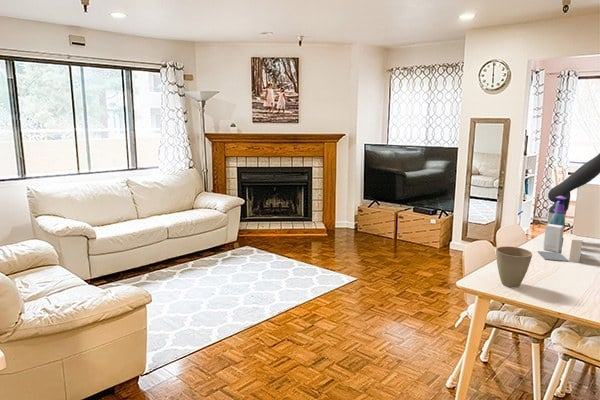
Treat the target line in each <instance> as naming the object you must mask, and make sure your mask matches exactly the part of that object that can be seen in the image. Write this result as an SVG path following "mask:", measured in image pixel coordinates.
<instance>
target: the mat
mask: <svg viewBox="0 0 600 400" xmlns="http://www.w3.org/2000/svg"><path fill="white" fill-rule="evenodd" d="M537 253H538V254H539V255H540V256H541V257H542V259H544V260H545V261H555V262H567V263H568V262H570V261H568V260H567V259H566V258H565V257H564V256H563V255H562V254H561V252H553V251H545V250H542V251H541V250H537Z"/></svg>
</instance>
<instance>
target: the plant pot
mask: <svg viewBox="0 0 600 400" xmlns="http://www.w3.org/2000/svg"><path fill="white" fill-rule="evenodd" d="M495 256H496V257H495V258H496V265H497V271H498V276H499V279H500V282H501V284H502V285H503V286H505V287H508V288H518V287H520V286H521V284H522V282H523V280H524V279H525V276H526V274H527V272H528V270H529V267H530V264H531V260H532V257H533V252H532V251H530V250H528V249H525V248H522V247H518V246H508V245H507V246H506V245H505V246H498V247H496V249H495Z"/></svg>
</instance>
